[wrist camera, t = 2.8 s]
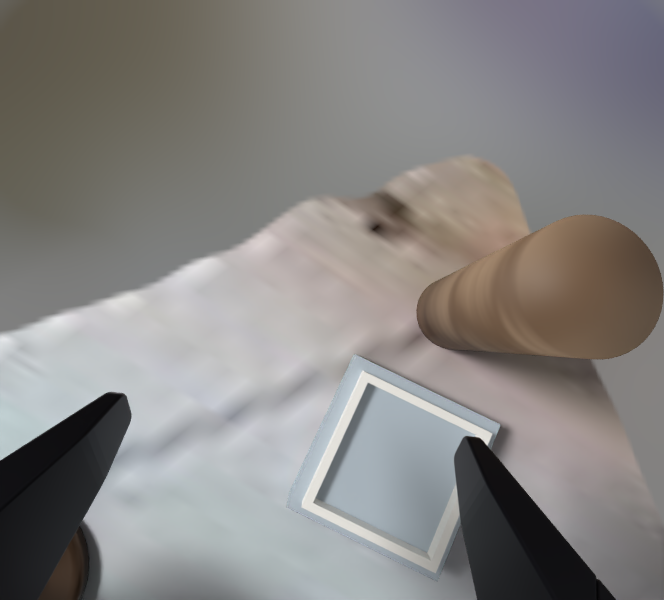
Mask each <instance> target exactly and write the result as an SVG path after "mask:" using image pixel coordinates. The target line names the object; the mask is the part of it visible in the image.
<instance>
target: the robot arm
mask: <svg viewBox="0 0 664 600" xmlns="http://www.w3.org/2000/svg"><path fill="white" fill-rule="evenodd" d="M130 421H131V410H130V407H129V403H128V400H127V396H126V395H125V394H123V393H116V392H108V393H105V394H104V395H102V396H101V397H99V398H97V399H96V400H94V401H93V402H91V403H90V404H88V405H87V406H85V407H83V408H82V409H80V410H79V411H77V412H76V413H74V414H72V415H71V416H69V417H68V418H66V419H65V420H63V421H61V422H60V423H58V424H57V425H55V426H54V427H52V428H51V429H49V430H47V431H46V432H44V433H43V434H41V435H40V436H38V437H36V438H35V439H33V440H32V441H30V442H29V443H27V444H25V445H24V446H22V447H21V448H19V449H18V450H16V451H15V452H13V453H11V454H10V455H8V456H7V457H5V458H4V459H2V460H0V600H38V598H39V597H40V595H41V593H42V591H43V590H44V588H45V586H46V584H47V582H48V581H49V579H50V577H51V575H52V573H53V572H54V570H55V568H56V566H57V565H58V563H59V561H60V559H61V557H62V556H63V554H64V552H65V550H66V549H67V547H68V545H69V543H70V541H71V540H72V538H73V536H74V534H75V533H76V531H77V529H78V527H79V525H80V524H81V522H82V520H83V518H84V517H85V515H86V513H87V511H88V509H89V508H90V506H91V504H92V502H93V501H94V499H95V497H96V495H97V493H98V492H99V490H100V488H101V486H102V484H103V482H104V480H105V478H106V476H107V474H108V472H109V470H110V468H111V465H112V463H113V461H114V458H115V456H116V454H117V452H118V449H119V447H120V445H121V442H122V440H123V438H124V435H125V433H126V431H127V429H128V426H129V424H130ZM454 468H455V477H456V486H457V495H458V504H459V513H460V520H461V526H462V531H463V536H464V540H465V545H466V550H467V554H468V559H469V564H470V568H471V573H472V577H473V582H474V587H475V591H476V596H477V600H616V599H615V598H614V597H613V595H612V594H611V593H610V592H609V591H608V589H607V588H606V587H605V586H604V585H603V583H602V582H601V581H600V580H598V579H596V575H595V574H594V573H593V572H592V570H591V569H590V568H589V567H588V566H587V564H586V563H585V562H584V561H583V560H582V559H581V557H580V556H579V555H578V554H577V553H576V551H575V550H574V549H573V548H572V547H571V545H570V544H569V543H568V542H567V541H566V539H565V538H564V537H563V536H562V535H561V533H560V532H559V531H558V530H557V529H556V527H555V526H554V525H553V524H552V523H551V521H550V520H549V519H548V518H547V517H546V515H545V514H544V513H543V512H542V511H541V509H540V508H539V507H538V506H537V505H536V503H535V502H534V501H533V500H532V499H531V497H530V496H529V495H528V494H527V493H526V491H525V490H524V489H523V488H522V487H521V485H520V484H519V483H518V482H517V481H516V479H515V478H514V477H513V476H512V475H511V473H510V472H509V471H508V470H507V469H506V467H505V466H504V465H503V464H502V463H501V462H500V460H499V459H498V458H497V457H496V456H495V454H494V453H493V452H492V451H491V450H490V448H489V447H488V446H487V445H486V444H485V442H484V441H483V440H482V439H481V438H479V437H473V436H465V437H463V439H462V440H461V442H460V444H459V446H458V448H457V450H456V452H455V455H454Z"/></svg>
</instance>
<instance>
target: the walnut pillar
mask: <svg viewBox="0 0 664 600" xmlns="http://www.w3.org/2000/svg"><path fill="white" fill-rule="evenodd" d="M662 304H663V282H662V278H661V273H660V270H659V267H658V265H657V262H656V260H655V258H654V256H653V254H652V253H651V251H650V250H649V249H648V247H647V246H646V244H645V243H644V242H643V241H642V240H641V239H640V238H639V237H638V236H637V235H636V234H635V233H634V232H633V231H631V230H630V229H629V228H627V227H625V226H624V225H622V224H620V223H618V222H616V221H614V220H611V219H609V218H605V217H602V216H596V215H575V216H571V217H567V218H563V219H561V220H558V221H556V222H554V223H552V224H550V225H548V226H546V227H544V228H542V229H540V230H538V231H536V232H534V233H532V234H530V235H528V236H526V237H524V238H522V239H520V240H518V241H516V242H514V243H512V244H510V245H508V246H506V247H504V248H502V249H500V250H498V251H496V252H494V253H492V254H490V255H488V256H486V257H484V258H482V259H480V260H478V261H476V262H474V263H472V264H470V265H468V266H466V267H464V268H462V269H460V270H458V271H456V272H454V273H452V274H450V275H448V276H446V277H444V278H442V279H440V280H438V281H436V282H434V283H432V284H431V285H429V286H428V287H427V288H426V289H425V290H424V292H423V293H422V294H421V296H420V298H419V301H418V304H417V321H418V324H419V327H420V329H421V331H422V332H423V334H424V335H425V336H426V337H427V338H428V339H429V340H430V341H431V342H432V343H434V344H436V345H437V346H440V347H443V348H447V349H457V350H471V351H485V352H498V353H512V354H526V355H540V356H554V357H568V358H582V359H609V358H614V357H618V356H621V355H623V354H626V353H628V352H630V351H631V350H633V349H635V348H636V347H638V346H639V345H640V344H641V343H642V342H644V340H645V339H646V338H647V337H648V336H649V335H650V333H651V332H652V330H653V329H654V327H655V325H656V323H657V321H658V319H659V316H660V313H661V309H662Z"/></svg>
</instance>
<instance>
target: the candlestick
mask: <svg viewBox="0 0 664 600" xmlns="http://www.w3.org/2000/svg"><path fill="white" fill-rule="evenodd" d="M88 571H89V556H88V549H87V544H86V541H85V538H84V535H83V533H82V530H81V529H80V527H78V529H77V531H76V533H75V534H74V536H73V538H72V540H71V541H70V543H69V545H68V547H67V549H66V550H65V552H64V554H63V556H62V557H61V559H60V561H59V563H58V565H57V566H56V568H55V570H54V572H53V573H52V575H51V577H50V579H49V581H48V582H47V584H46V586H45V588H44V590H43V591H42V593H41V595H40V597H39V598H38V600H81V597H82V595H83V592H84V590H85V587H86V582H87V578H88Z"/></svg>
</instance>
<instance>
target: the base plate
mask: <svg viewBox="0 0 664 600" xmlns="http://www.w3.org/2000/svg"><path fill="white" fill-rule="evenodd" d="M499 428H500V424H498V423H496V422H494V421H492V420H490V419H488V418H486V417H484V416H482V415H480V414H478V413H475V412H473V411H471V410H469V409H467V408H465V407H463V406H461V405H459V404H457V403H455V402H453V401H451V400H449V399H447V398H444V397H442V396H440V395H438V394H436V393H434V392H432V391H430V390H428V389H426V388H424V387H422V386H420V385H418V384H415V383H413V382H411V381H409V380H407V379H405V378H403V377H401V376H399V375H397V374H395V373H393V372H391V371H389V370H387V369H384V368H382V367H380V366H378V365H376V364H374V363H372V362H370V361H368V360H366V359H364V358H362V357H360V356H358V355H355V354H354V355H353V357H352V359H351V362H350V364H349V366H348V368H347V370H346V372H345V374H344V377H343V379H342V381H341V383H340V385H339V387H338V389H337V392H336V394H335V396H334V398H333V400H332V402H331V404H330V407H329V409H328V411H327V413H326V415H325V417H324V419H323V422H322V424H321V426H320V428H319V430H318V432H317V435H316V437H315V439H314V441H313V443H312V445H311V447H310V450H309V452H308V454H307V456H306V458H305V460H304V462H303V465H302V467H301V469H300V471H299V473H298V475H297V477H296V480H295V482H294V484H293V486H292V488H291V490H290V492H289V497H288V502H287V508H289V509H291V510H293V511H295V512H297V513H299V514H301V515H303V516H305V517H307V518H309V519H311V520H313V521H315V522H317V523H319V524H322V525H324V526H326V527H328V528H330V529H332V530H334V531H336V532H338V533H340V534H342V535H344V536H346V537H348V538H350V539H352V540H354V541H356V542H358V543H360V544H362V545H364V546H366V547H368V548H370V549H372V550H374V551H376V552H378V553H380V554H382V555H384V556H386V557H388V558H390V559H393V560H395V561H397V562H399V563H401V564H403V565H405V566H407V567H409V568H411V569H413V570H415V571H417V572H419V573H421V574H423V575H425V576H427V577H429V578H431V579H433V580H435V581H438V579H439V576H440V574H441V571H442V569H443V566H444V564H445V561H446V559H447V556H448V554H449V551H450V549H451V547H452V544H453V542H454V539H455V537H456V534H457V532H458V529H459V527H460V524H461V520H460V513H459V504H458V495H457V486H456V477H455V468H454V455H455V452H456V450H457V448H458V446H459V444H460V442H461V440H462V439H463V437H465V436H473V437H479V438H481V439H482V440H483V441H484V442H485V444H486V445H487V446H488V447H489V448H490V450H491V447H492V445H493V443H494V440H495V438H496V435H497V433H498V430H499Z"/></svg>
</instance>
